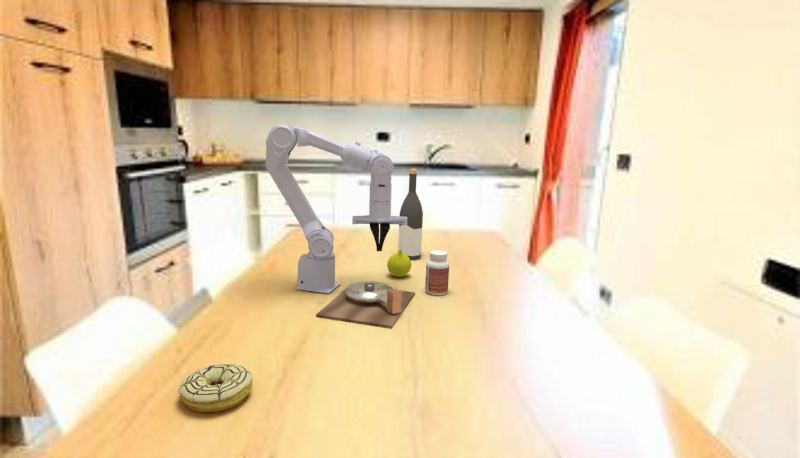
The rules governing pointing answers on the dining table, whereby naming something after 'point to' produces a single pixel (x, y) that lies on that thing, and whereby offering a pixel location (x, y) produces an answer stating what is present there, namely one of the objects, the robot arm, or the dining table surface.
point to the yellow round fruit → (399, 264)
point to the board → (363, 311)
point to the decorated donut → (216, 387)
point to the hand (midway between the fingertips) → (379, 250)
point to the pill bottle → (437, 273)
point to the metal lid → (376, 294)
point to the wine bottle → (411, 222)
